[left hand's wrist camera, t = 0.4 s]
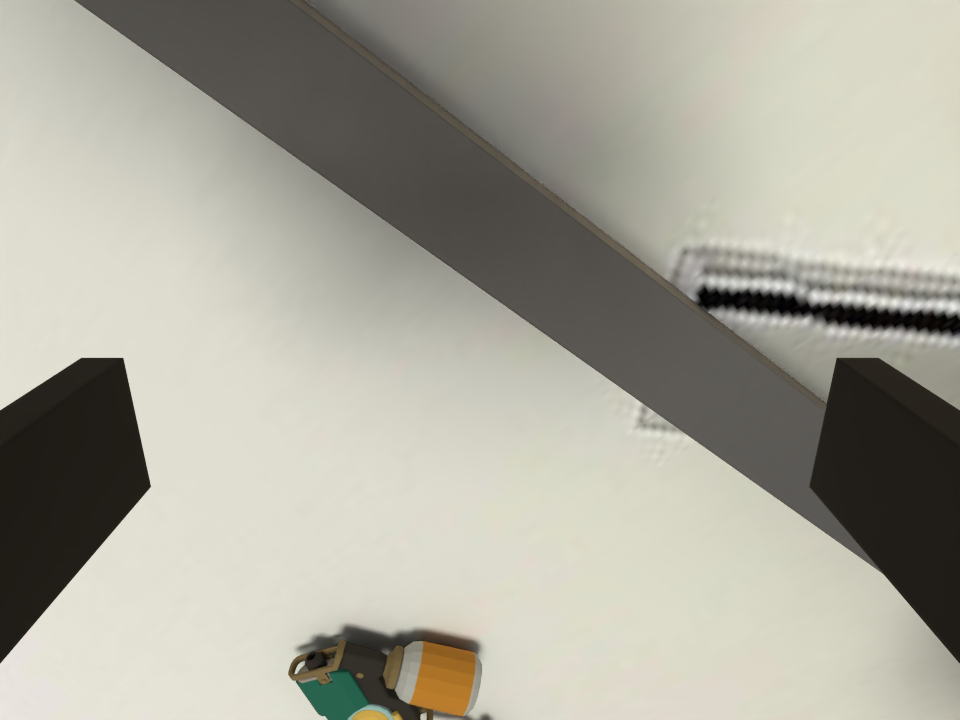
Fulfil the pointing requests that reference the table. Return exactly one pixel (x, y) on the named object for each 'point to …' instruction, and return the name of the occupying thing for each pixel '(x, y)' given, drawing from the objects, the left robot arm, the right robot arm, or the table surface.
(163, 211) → the table surface
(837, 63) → the table surface
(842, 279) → the table surface
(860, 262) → the table surface
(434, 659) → the spray gun
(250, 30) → the beam
